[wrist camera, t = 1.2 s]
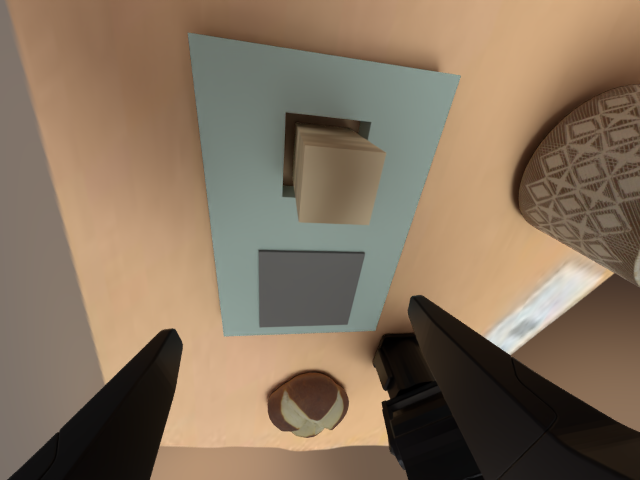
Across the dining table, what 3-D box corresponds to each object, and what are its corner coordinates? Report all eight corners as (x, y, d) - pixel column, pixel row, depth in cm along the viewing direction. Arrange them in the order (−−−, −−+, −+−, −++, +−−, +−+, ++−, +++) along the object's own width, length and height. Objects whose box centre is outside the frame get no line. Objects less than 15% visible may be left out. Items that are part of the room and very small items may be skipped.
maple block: (348, 128, 19) (386, 152, 12) (340, 179, 21) (369, 225, 14) (295, 122, 18) (305, 145, 12) (292, 176, 20) (298, 222, 14)
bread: (319, 360, 34) (325, 399, 30) (355, 393, 40) (364, 429, 36) (252, 392, 36) (248, 432, 32) (295, 419, 42) (297, 456, 38)
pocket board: (440, 76, 18) (463, 75, 16) (368, 313, 30) (376, 333, 28) (200, 39, 15) (185, 31, 13) (228, 316, 28) (223, 338, 25)
